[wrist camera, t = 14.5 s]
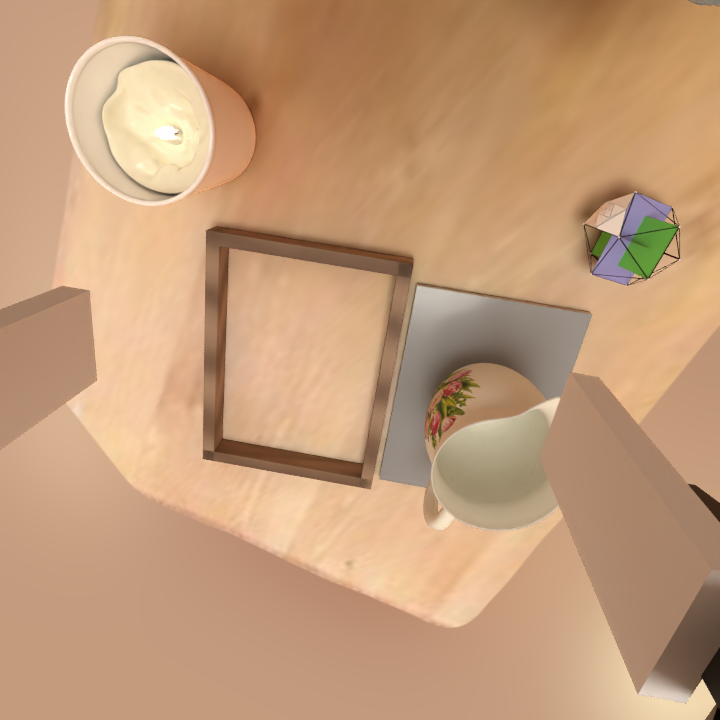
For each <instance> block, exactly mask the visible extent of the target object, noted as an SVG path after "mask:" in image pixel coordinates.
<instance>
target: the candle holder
mask: <svg viewBox="0 0 720 720" xmlns="http://www.w3.org/2000/svg"><path fill="white" fill-rule="evenodd" d="M65 118H66V125H67V129H68V133H69V136H70V139H71V142H72V145H73V147H74V149H75V151H76V153H77V155H78V157H79V159H80V160H81V162H82V164H83V165H84V167H85V168H86V169H87V171H88V172H89V173H90V174H91V175H92V177H93V178H94V179H95V180H96V181H97V182H98V183H99V184H101V185H102V186H103V187H104V188H105V189H107V190H108V191H109V192H111V193H112V194H114V195H116V196H118V197H119V198H121V199H124V200H126V201H129V202H131V203H135V204H139V205H145V206H162V205H167V204H171V203H174V202H177V201H179V200H181V199H183V198H185V197H188V196H191V195H193V194H196V193H199V192H202V191H205V190H208V189H211V188H214V187H217V186H219V185H222V184H225V183H227V182H229V181H231V180H233V179H235V178H236V177H238V176H239V175H240V174H241V173H242V172H243V171H244V170H245V169H246V168H247V166H248V165H249V163H250V161H251V159H252V157H253V154H254V150H255V144H256V130H255V124H254V120H253V117H252V114H251V112H250V110H249V108H248V106H247V104H246V103H245V101H244V100H243V99H242V97H241V96H240V95H239V94H238V93H237V92H236V91H235V90H234V89H233V88H231V87H230V86H229V85H227V84H226V83H224V82H223V81H221V80H219V79H218V78H216V77H214V76H213V75H211V74H209V73H207V72H206V71H204V70H202V69H201V68H199V67H197V66H195V65H194V64H192V63H190V62H188V61H187V60H185V59H183V58H181V57H180V56H178V55H176V54H175V53H174V52H172V51H171V50H170V49H168V48H166V47H165V46H163V45H161V44H159V43H157V42H155V41H152V40H150V39H147V38H143V37H138V36H130V35H122V36H114V37H110V38H107V39H104V40H102V41H100V42H98V43H96V44H94V45H93V46H91V47H90V48H89V49H88V50H87V51H86V52H85V53H84V54H83V55H82V56H81V57H80V58H79V60H78V61H77V62H76V64H75V66H74V68H73V70H72V72H71V74H70V77H69V79H68V83H67V87H66V93H65Z"/></svg>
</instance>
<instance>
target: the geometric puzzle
mask: <svg viewBox="0 0 720 720" xmlns="http://www.w3.org/2000/svg"><path fill="white" fill-rule="evenodd" d="M671 210H672V212H673V211H674V210H673V206H672V207H670V206H668V205H665V204H663V203H661V202H658V201H656V200H654V199H651V198H649V197H647V196H644V195H642V194H639V193H637V191H635V192H634V193H631V194H628V195H625V196H622V197H619V198H616V199H613V200H610V201H607V202H605V203H604V204H603V205H602V206H601V207H600V208H599V209H598V210H597V211H596V212H595V213H594V214H593V215H592V216H591V217H590V218H589V219H588V220H587V221H586V222H585V223H583V225H584V224H585V225H587V226H590V227H593V228H595V229H598V230H600V231H602V233H601V235H600V237H599V239H598V240H597V242H596V244H595V246H594V248H593V250H592V252H591V250H590V252H591V253H590V254H592V255H593V256H594V255H595V256H598V257H600V258H599V259H598V258H597V257H595V256H594V257H595V258H596V259H597V260H598V262H597V264H596V266H595V267H594V269H593V271H592V273H590V275H595V276H598V277H601V278H605V279H608V280H611V281H614V282H617V283H620V284H623V285H626V286H628V283H629V281H630V280H631V278H633V277H632V276H633V275H634V273H635V274H637V275H639V276H642V277H643V278H637V279H639V280H640V279H644V278H646V279H647V280H649V279H650V276H651V274H652V273H654V272H653V271H654V269H655V268H656V266H657V264H658V263H659V261H660V259H661V258H662V256H663V254H665V255H668V256H671V257H673V258H676V259H679V261H680V260H681V259H680V228H681V226H678V225H677V224H676V223H675V221H674V225H673V224H670V223H666V222H664V221H665V220H666V218H668V217H667V216H668V214H669V213H670V211H671ZM674 214H675V213H674ZM674 214H673V219H674ZM675 216H676V215H675ZM669 219H670V218H669ZM676 219H677V218H676ZM670 220H671V219H670ZM671 221H672V220H671ZM672 222H673V221H672ZM677 222H678V221H677ZM675 224H676V225H677V226H676V225H675ZM678 224H679V223H678ZM585 225H584V230H585ZM678 229H679V249H678V254H679V258H677V257H674V256H672V255H669V254H667V253H665V251H666V249H667V248H668V246H669V244H670V243H671V241H672V239H673V238H674V236H675V234H676V232H677V231H678ZM585 232H586V230H585ZM586 236H587V234H586V235H585V237H586ZM587 240H588V238H587ZM676 240H677V235H676ZM586 244H587V242H586ZM588 244H589V242H588ZM677 247H678V242H677ZM589 248H590V246H589ZM587 251H588V249H587ZM588 258H589V256H588ZM677 261H678V260H677ZM677 261H675V262H677ZM675 262H673V263H675ZM589 265H590V263H589ZM669 265H670V264H669ZM671 265H672V263H671ZM667 266H668V265H667ZM665 267H666V266H665ZM668 267H669V266H668ZM663 268H664V267H663ZM666 268H667V267H666ZM666 268H665V269H666ZM661 269H662V268H661ZM659 270H660V269H659ZM663 270H664V269H663ZM657 271H658V270H657ZM590 272H591V270H590ZM655 272H656V271H655ZM660 272H661V271H660ZM658 273H659V272H658ZM658 273H657V274H658ZM655 275H656V274H655ZM652 277H653V276H652ZM637 281H638V280H637ZM643 281H645V280H643ZM635 282H636V281H635ZM640 282H641V281H640ZM637 283H638V282H637ZM631 284H632V283H631ZM631 284H630V285H631ZM633 284H634V282H633Z"/></svg>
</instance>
